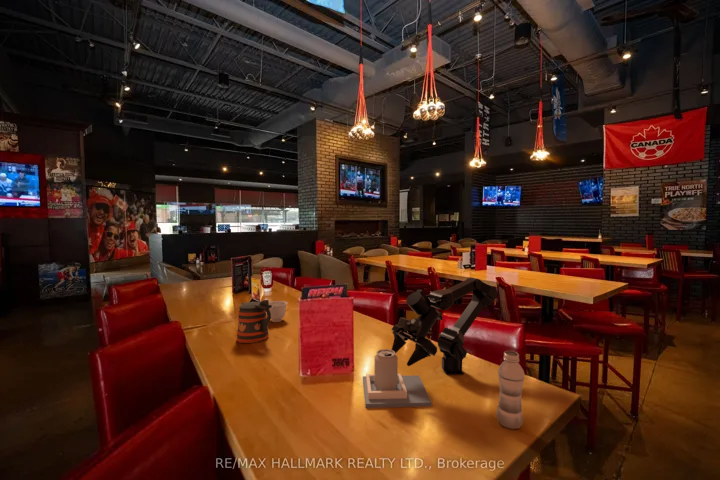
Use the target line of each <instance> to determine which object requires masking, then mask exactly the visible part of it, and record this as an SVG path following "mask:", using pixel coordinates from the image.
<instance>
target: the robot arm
mask: <svg viewBox="0 0 720 480" xmlns="http://www.w3.org/2000/svg"><path fill="white" fill-rule="evenodd" d="M469 293H471V301H470V302H469V304H468V305H467V307H466V308H465V309H464V311H463V312H462V313H461V315H460V316H459V318H458V319H457V320H456V322H455V323H454V324H453V326H452V327H450V328H449V327H444V328H443V329H442V331H441V332H440V333H439V334H438V338H437V345H438V347H437V345H435V344H434V343H433V342H432V340H431V339H429V338H426V336H427V335H428V334H432V332H433V331H432V328H433V326H434V324H436V322H437V320H440V321H443V318H444V317H443V312H442V311H446V310H448V309H449V308H450V307H452V306H453V305H454V303H455V301H457V300H458V299H460V298H462V297H463V296H465V295H467V294H469ZM498 294H499V293H498V290H497V288H496V287H495V286H493V285H489V284H488V283H486V282H484V281H482V280H481V279H480V278H475V277H471V276H470V277H467V278H466V279H465V280H463V281H461V282H459V283H456V284H455V285H453V286H451V287H449V288H446V289H445V288H444V289H437V290H434V291H431V292H430V293H429V294H427V295H426V294H425V292H424V290H422V289H417V290H416V291H414V292H412V293H410V294H409V295H408V296H407V297H406V300H405V302H406V304H407V305H408V306H409V307H410V309H411V310H412V311H413V312H414V313H415V314H416V315H418V317H416V318H415V317H414V318H412V319H411V320H410V319H407V318H405V317H401V316H400V317H399V320H398V323H397V324H394V325H393V326H392V328H391V331H392V332H391V333H392V334H393V338H394V339H393V343H392V346H391V349H390V350H393V351H394V352H395V353H396V354H397V353H398V351H400V350H401V349H402V348H403V347H404V346H405V345H406V344H407V342H406V341H408V340H409V341H411V342H412V343H415V345H414V346H415V347H414V351H413V352H412V354H411V355H410V357H409V359H408V360H407V362H406V366H407V367H411V366H413V365H414V364H415V363H418V362H419V361H422V360H423V359H425V358H428V357H429V358H431V356H433V357H435V356H436V354H437V353H438V349H439V352H440V353H443V354H442V355H443V356H442V357H441V369H442V370H443V371H444V374H446V375H447V376H449V375H450V376H451V375H464V374H465V373H464V371H463V360H464V359H465V358H466V357H467V353H468V351H467V349H465V347H463V346H464V344H465V335H466V333H467V332H468V331H469V329H470V328H471V326H472V324H473V323H474V322H475V320H476V319H477V318H478V316H479V315H480V313H481V312H482V310H483V309H484V308H485V307H487V306H490V305H492V303H493V302H494V301H495V300H496V299H497V298H498V296H499V295H498ZM437 309H438V310H441V311H438V310H437Z"/></svg>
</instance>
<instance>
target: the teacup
mask: <svg viewBox="0 0 720 480" xmlns="http://www.w3.org/2000/svg"><path fill="white" fill-rule="evenodd" d="M269 305H272V308H269V310H270V313H271V319H270V320H271V322H273V323H280V322H282V321H283V318H284V317H285V315H286V309H287V305H288V302H287V301H285V300H274V301H273V300H271V301H269Z"/></svg>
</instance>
